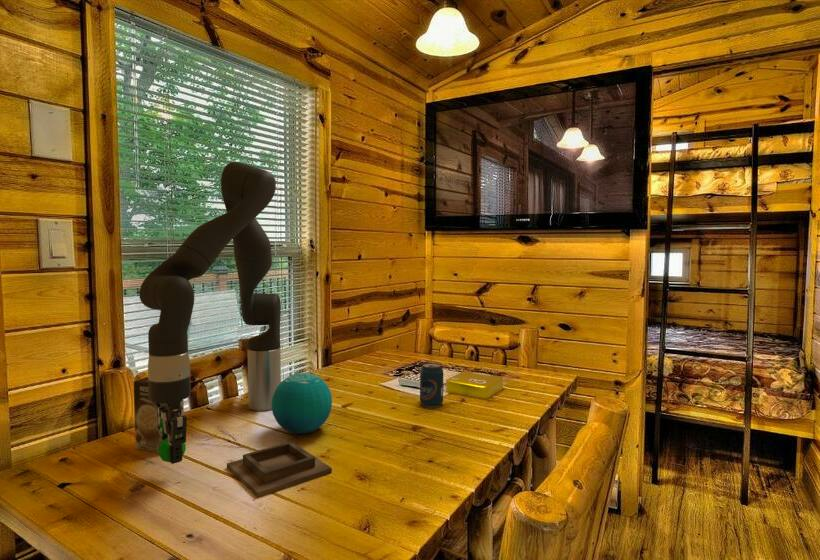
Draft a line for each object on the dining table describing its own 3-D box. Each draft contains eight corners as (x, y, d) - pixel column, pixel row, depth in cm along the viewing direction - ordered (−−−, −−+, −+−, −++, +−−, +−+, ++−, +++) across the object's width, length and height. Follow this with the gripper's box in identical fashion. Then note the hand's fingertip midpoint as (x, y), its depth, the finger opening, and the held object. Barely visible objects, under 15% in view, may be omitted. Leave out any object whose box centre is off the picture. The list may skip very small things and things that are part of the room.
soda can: (416, 406, 144) (416, 366, 143) (424, 399, 150) (424, 361, 149) (438, 409, 141) (439, 368, 140) (446, 402, 148) (446, 363, 147)
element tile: (504, 389, 163) (504, 375, 163) (486, 401, 150) (486, 386, 150) (464, 382, 171) (464, 368, 171) (443, 393, 158) (443, 378, 158)
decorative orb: (259, 438, 119) (258, 378, 118) (294, 418, 133) (293, 364, 132) (312, 447, 114) (312, 384, 113) (342, 425, 128) (342, 369, 127)
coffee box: (133, 449, 113) (131, 380, 111) (156, 438, 119) (154, 374, 117) (164, 454, 110) (162, 384, 108) (186, 444, 116) (184, 377, 114)
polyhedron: (167, 468, 95) (166, 445, 95) (153, 462, 98) (152, 439, 97) (190, 459, 99) (190, 436, 99) (176, 453, 102) (176, 431, 101)
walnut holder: (226, 467, 103) (226, 454, 103) (295, 448, 114) (295, 435, 113) (257, 497, 91) (257, 482, 91) (331, 472, 101) (331, 458, 101)
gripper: (200, 379, 94) (202, 464, 95) (179, 364, 105) (181, 441, 106) (157, 387, 89) (160, 476, 91) (140, 370, 100) (143, 450, 102)
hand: (172, 456), depth 98 cm, fingers closed on polyhedron, 5 cm apart
